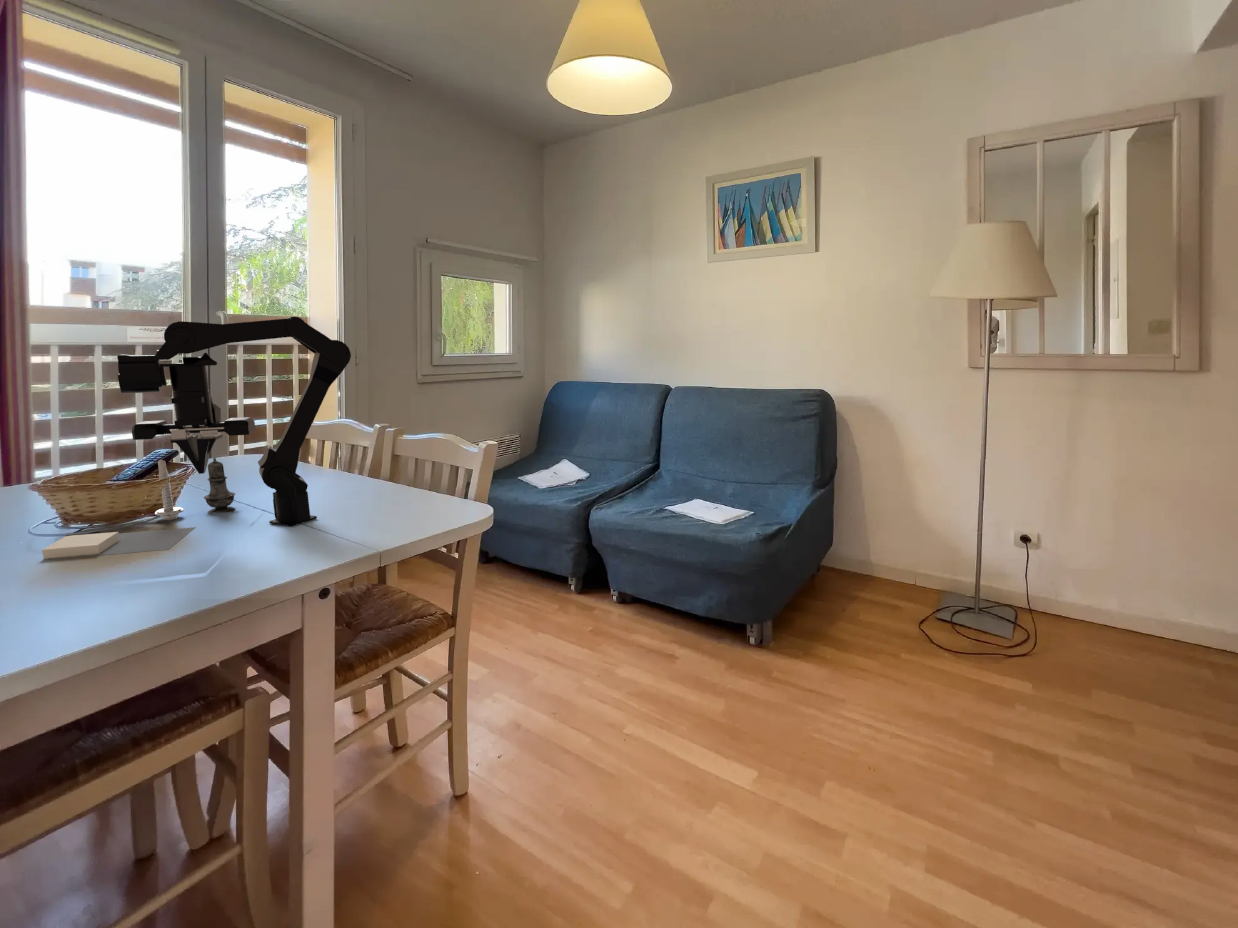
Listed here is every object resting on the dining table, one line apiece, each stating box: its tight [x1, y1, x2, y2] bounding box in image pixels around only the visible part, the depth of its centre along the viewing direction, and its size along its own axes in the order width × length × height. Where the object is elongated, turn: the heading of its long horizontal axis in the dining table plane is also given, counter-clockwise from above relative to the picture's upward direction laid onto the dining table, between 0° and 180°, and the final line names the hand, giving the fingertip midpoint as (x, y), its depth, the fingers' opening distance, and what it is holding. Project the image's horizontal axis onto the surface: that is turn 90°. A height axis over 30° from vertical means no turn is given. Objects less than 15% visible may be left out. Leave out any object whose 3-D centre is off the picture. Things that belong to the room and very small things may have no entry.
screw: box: [154, 459, 184, 521], centre depth 132 cm, size 13×5×5 cm
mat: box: [47, 526, 197, 561], centre depth 118 cm, size 18×14×1 cm
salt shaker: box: [203, 457, 236, 514], centre depth 139 cm, size 6×6×12 cm
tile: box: [41, 531, 120, 560], centre depth 114 cm, size 2×8×8 cm
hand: (202, 473), depth 122 cm, fingers closed
